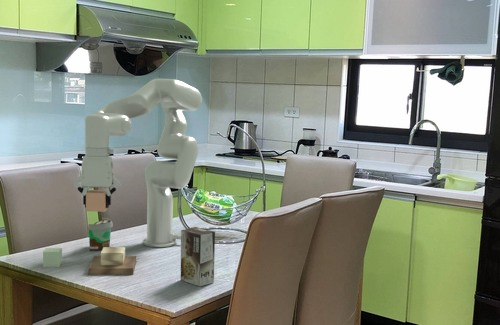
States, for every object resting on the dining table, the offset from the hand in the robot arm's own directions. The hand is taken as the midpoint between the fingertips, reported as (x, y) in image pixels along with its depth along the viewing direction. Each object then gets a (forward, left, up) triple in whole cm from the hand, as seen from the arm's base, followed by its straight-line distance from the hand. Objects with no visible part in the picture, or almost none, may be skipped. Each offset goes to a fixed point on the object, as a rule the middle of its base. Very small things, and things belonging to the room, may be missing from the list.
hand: (97, 206), depth 199 cm
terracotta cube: (0, 0, -1) cm, 1 cm away
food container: (0, -20, -20) cm, 28 cm away
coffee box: (-33, +18, -20) cm, 42 cm away
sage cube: (+14, 0, -20) cm, 24 cm away
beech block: (-6, +4, -17) cm, 19 cm away
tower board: (-6, +4, -19) cm, 21 cm away
